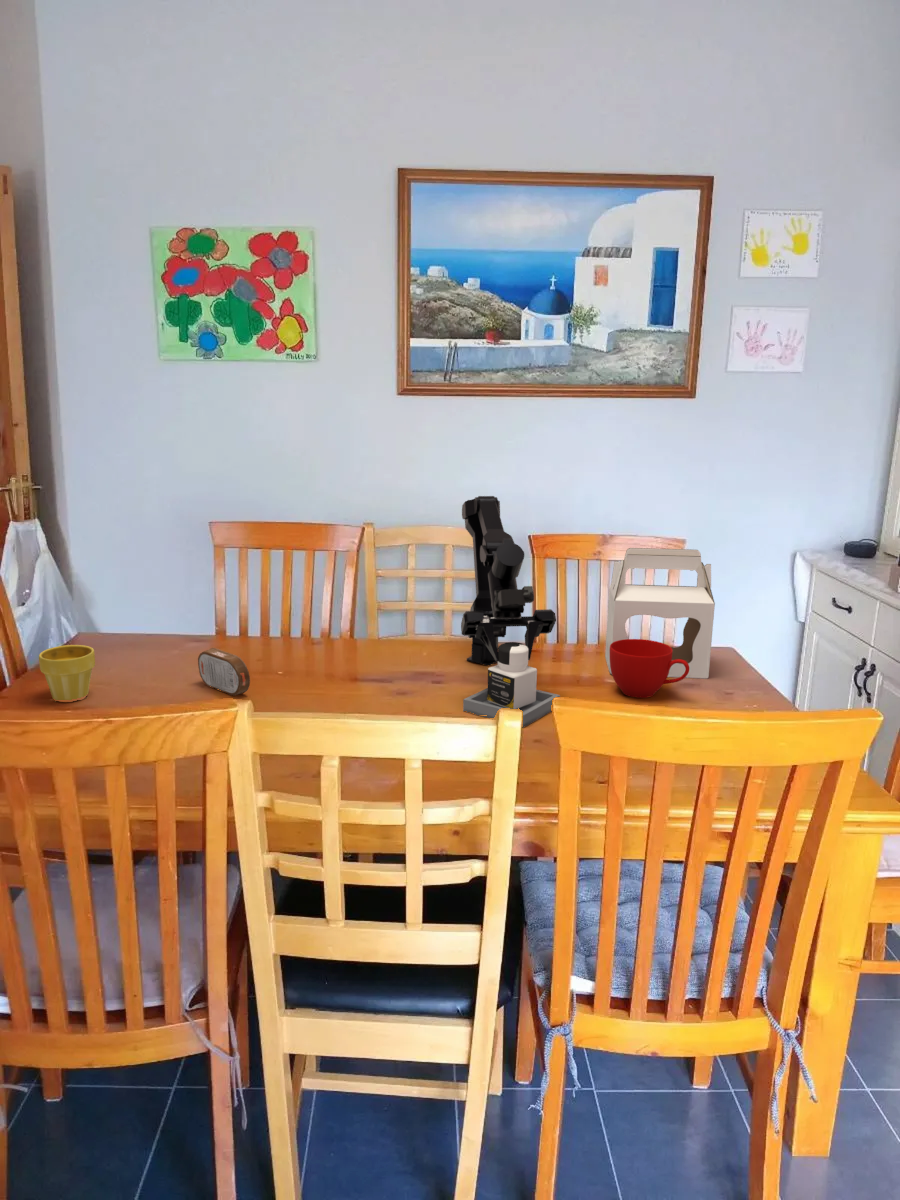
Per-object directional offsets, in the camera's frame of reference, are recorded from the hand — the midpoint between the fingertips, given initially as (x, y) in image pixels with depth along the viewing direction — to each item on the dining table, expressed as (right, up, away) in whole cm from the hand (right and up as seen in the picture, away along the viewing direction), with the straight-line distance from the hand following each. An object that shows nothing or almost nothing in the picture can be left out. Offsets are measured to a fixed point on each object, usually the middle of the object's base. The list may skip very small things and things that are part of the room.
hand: (513, 659), depth 175 cm
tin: (-60, -7, +11) cm, 62 cm away
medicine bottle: (0, -9, +3) cm, 9 cm away
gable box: (+35, -4, +29) cm, 46 cm away
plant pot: (-90, -8, +6) cm, 91 cm away
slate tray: (0, -10, +2) cm, 10 cm away
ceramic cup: (+29, -8, +12) cm, 32 cm away
